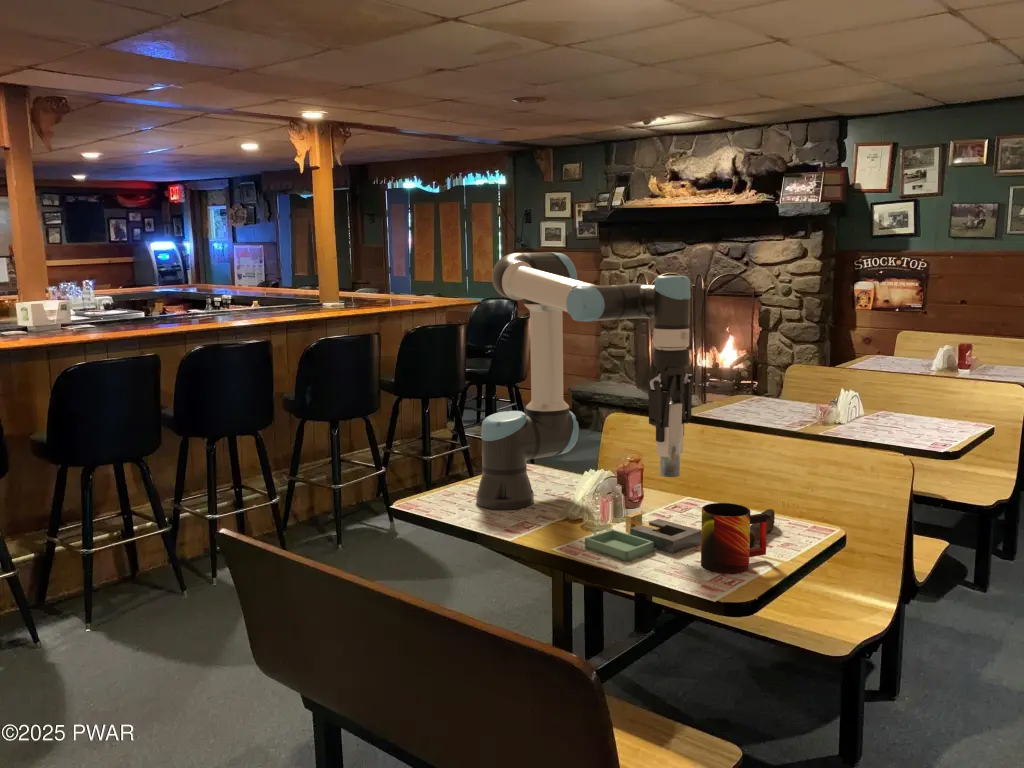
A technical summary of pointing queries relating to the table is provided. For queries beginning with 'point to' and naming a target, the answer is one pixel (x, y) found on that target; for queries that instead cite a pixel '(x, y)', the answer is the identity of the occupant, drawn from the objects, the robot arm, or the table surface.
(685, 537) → the socket block
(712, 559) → the mug
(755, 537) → the hand tool
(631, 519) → the tan wooden stepped block
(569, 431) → the robot arm
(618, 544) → the tray
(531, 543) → the table surface
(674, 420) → the grey long rod
